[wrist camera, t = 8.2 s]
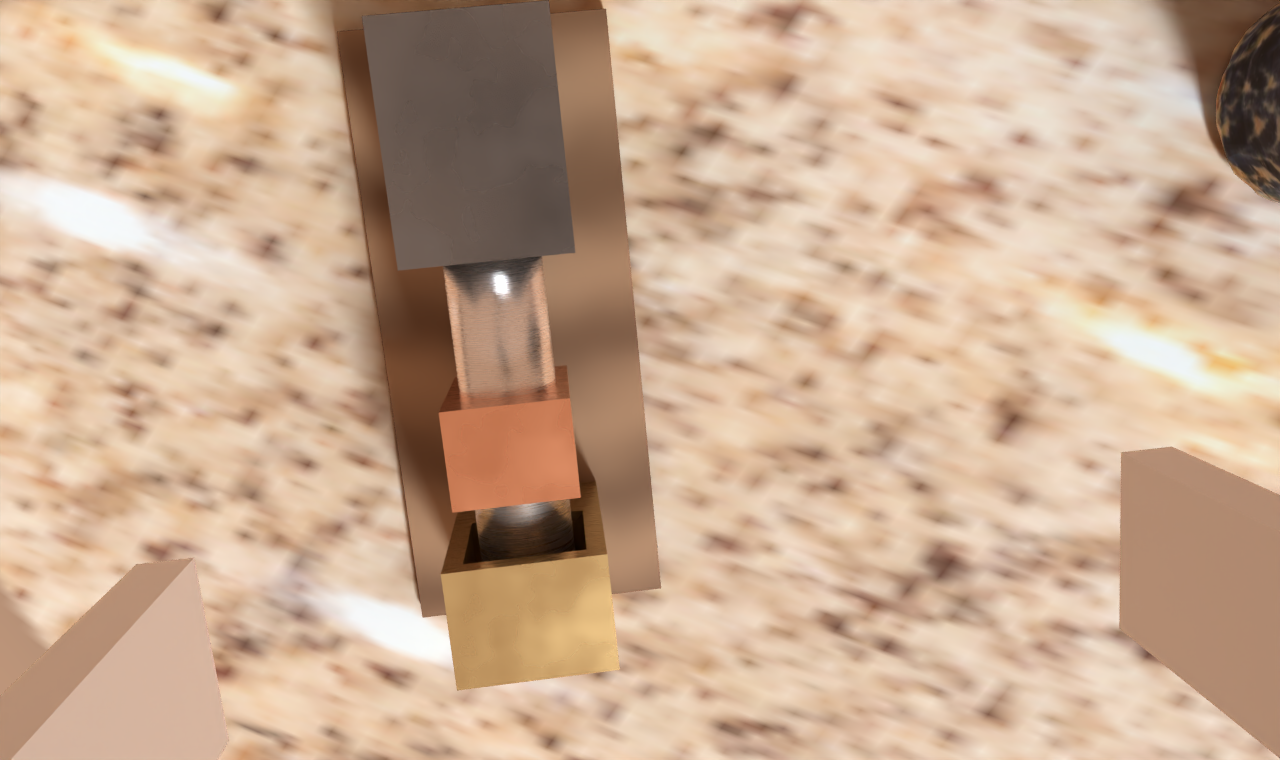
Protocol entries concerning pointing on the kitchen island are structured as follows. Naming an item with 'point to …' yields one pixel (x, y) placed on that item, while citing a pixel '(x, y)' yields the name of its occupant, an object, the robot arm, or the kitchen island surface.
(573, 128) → the board
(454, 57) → the sleeve
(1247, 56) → the jug
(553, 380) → the rod
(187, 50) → the kitchen island surface
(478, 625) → the socket
